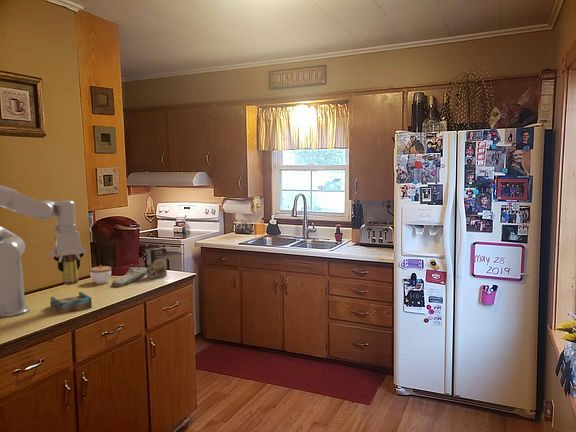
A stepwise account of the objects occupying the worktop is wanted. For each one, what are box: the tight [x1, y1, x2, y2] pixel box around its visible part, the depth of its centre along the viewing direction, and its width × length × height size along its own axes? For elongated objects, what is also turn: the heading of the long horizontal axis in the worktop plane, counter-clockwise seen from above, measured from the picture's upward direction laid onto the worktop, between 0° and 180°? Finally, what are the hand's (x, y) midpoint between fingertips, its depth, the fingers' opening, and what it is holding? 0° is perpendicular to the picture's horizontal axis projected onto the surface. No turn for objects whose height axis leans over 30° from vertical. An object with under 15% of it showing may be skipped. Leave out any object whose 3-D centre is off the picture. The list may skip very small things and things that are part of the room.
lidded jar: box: [89, 264, 112, 285], centre depth 248 cm, size 11×11×9 cm
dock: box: [50, 291, 93, 315], centre depth 205 cm, size 13×14×4 cm
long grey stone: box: [111, 266, 147, 288], centre depth 256 cm, size 35×5×10 cm
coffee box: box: [146, 246, 168, 279], centre depth 260 cm, size 9×6×16 cm
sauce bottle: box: [61, 254, 79, 286], centre depth 203 cm, size 7×6×20 cm
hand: (69, 269), depth 204 cm, fingers closed on sauce bottle, 6 cm apart
